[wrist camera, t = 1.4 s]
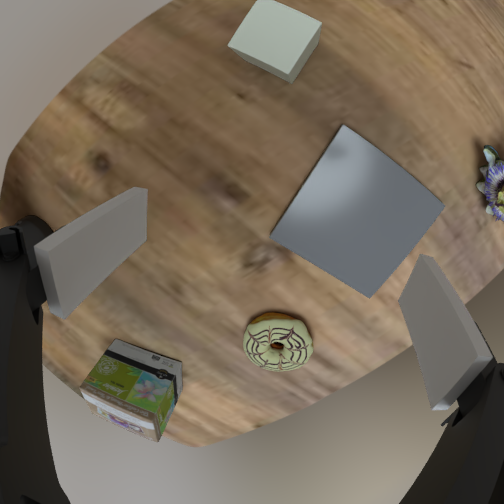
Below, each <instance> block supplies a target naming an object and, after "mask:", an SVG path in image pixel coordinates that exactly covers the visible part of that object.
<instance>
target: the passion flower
mask: <svg viewBox="0 0 504 504" xmlns="http://www.w3.org/2000/svg"><path fill="white" fill-rule="evenodd" d="M483 151H484V154H485V157H486V159H487V161H488V162H489V165H484V166H481V167H480V168H479V170H480V171H481V173H482V174H483V175H484V179H483V180H481V181H479V182H477V184H476V186H477V188H478V189H479V191H481V192H482V193H484V194H485V195H486V198H487V199H486V200H488V201H489V203H488V204H487V206H486V212H487V213H488V214H491V215H493V216H494V215H496V216H497V219H498V220H499V219H501V220H502V221H503V222H504V161H502V160H501V159H500V158H499V156H498V153H497V151H496V150H495V149H494V148H493V147H492V146H490V145H485V146H484V150H483ZM497 219H496V220H497Z"/></svg>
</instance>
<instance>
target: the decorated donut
mask: <svg viewBox="0 0 504 504" xmlns="http://www.w3.org/2000/svg"><path fill="white" fill-rule="evenodd" d="M274 342H281V343H282V344H284V345H282V346H281V345H276V344H274ZM243 347H244V351H245V353H246V355H247V357H248V358H249V359H250V360H251V362H253V363H254V364H256V365H258V366H259V367H261V368H264V369H267V370H271V371H288V370H294V369H298V368H300V367H301V366H303V365H304V364H305V363H306V362H307V361H308V360H309V358H310V356H311V354H312V353H313V342H312V339H311V336H310V334H309V332H308V331H307V328H306V326H305V325H304V323H303V322H302V321H300V320H296V319H295V318H293V317H291V316H288V315H285V314H281V313H274V312H271V313H265V314H263V315H262V316H259V317H257V318H256V319H254V320H253V321H252V322H251V323H250V324H249V325H248V327H247V329H246V331H245V334H244V340H243Z"/></svg>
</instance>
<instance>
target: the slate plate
mask: <svg viewBox="0 0 504 504" xmlns="http://www.w3.org/2000/svg"><path fill="white" fill-rule="evenodd" d="M444 207H445V205H444V204H443V203H442V202H441V201H440V200H438V199H437V198H436V197H435V196H434V195H433V194H432V193H431V192H430V191H429V190H427V189H426V188H425V187H424V186H423V185H422V184H421V183H420V182H418V181H417V180H416V179H415V178H414V177H413V176H411V175H410V174H409V173H408V172H407V171H405V170H404V169H403V168H402V167H400V166H399V165H398V164H397V163H395V162H394V161H393V160H392V159H390V158H389V157H388V156H386V155H385V154H384V153H383V152H381V151H380V150H379V149H377V148H376V147H375V146H373V145H372V144H370V143H369V142H368V141H366V140H365V139H364V138H362V137H361V136H359V135H358V134H356V133H355V132H354V131H352V130H351V129H349V128H348V127H346V126H345V125H343V124H342V125H341V126H340V128H339V129H338V131H337V133H336V134H335V136H334V137H333V139H332V140H331V142H330V143H329V145H328V146H327V148H326V149H325V151H324V153H323V154H322V156H321V157H320V159H319V160H318V162H317V163H316V165H315V166H314V168H313V169H312V171H311V173H310V174H309V176H308V177H307V179H306V180H305V182H304V183H303V185H302V186H301V188H300V189H299V191H298V192H297V194H296V195H295V197H294V199H293V200H292V202H291V203H290V205H289V206H288V208H287V209H286V211H285V212H284V214H283V215H282V217H281V218H280V220H279V221H278V223H277V224H276V226H275V228H274V229H273V231H272V232H271V234H270V237H269V238H271V239H272V240H274V241H276V242H277V243H279V244H281V245H282V246H284V247H286V248H287V249H289V250H291V251H292V252H294V253H296V254H297V255H299V256H301V257H302V258H304V259H306V260H307V261H309V262H311V263H312V264H314V265H316V266H317V267H319V268H321V269H322V270H324V271H326V272H327V273H329V274H331V275H332V276H334V277H336V278H337V279H339V280H340V281H342V282H344V283H345V284H347V285H349V286H350V287H352V288H353V289H355V290H357V291H358V292H360V293H362V294H363V295H365V296H366V297H368V298H371V297H372V295H373V294H374V293H375V292H376V291H377V290H378V289H379V288H380V287H381V286H382V284H383V283H384V282H385V281H386V280H387V279H388V278H389V277H390V275H391V274H392V273H393V272H394V271H395V270H396V268H397V267H398V266H399V265H400V264H401V263H402V261H403V260H404V259H405V258H406V257H407V255H408V254H409V253H410V252H411V250H412V249H413V248H414V247H415V245H416V244H417V243H418V242H419V240H420V239H421V238H422V237H423V235H424V234H425V233H426V231H427V230H428V229H429V228H430V226H431V225H432V224H433V222H434V221H435V220H436V218H437V217H438V216H439V214H440V213H441V211H442V210H443V209H444Z"/></svg>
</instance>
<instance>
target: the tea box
mask: <svg viewBox="0 0 504 504" xmlns="http://www.w3.org/2000/svg"><path fill="white" fill-rule="evenodd" d="M182 387H183V386H182V365H181V362H179V361H175V360H172V359H169V358H166V357H163V356H160V355H158V354H155V353H152V352H149V351H146V350H144V349H141V348H138V347H136V346H133V345H131V344H128V343H126V342H123V341H121V340H119V339H115V340H114V341H113V343H112V344H111V345H110V346H109V348H108V349H107V350H106V351H105V353H104V354H103V356H102V357H101V358H100V360H99V361H98V362H97V364H96V365H95V367H94V368H93V369H92V371H91V372H90V373H89V375H88V376H87V377H86V379H85V380H84V382H83V383H82V384H81V386H80V390H81V392H82V394H83V396H84V398H85V400H86V402H87V404H88V406H89V408H90V410H91V412H92V413H93V414H95V415H97V416H99V417H101V418H103V419H105V420H107V421H109V422H111V423H113V424H115V425H117V426H120V427H122V428H124V429H126V430H128V431H130V432H133V433H135V434H138V435H140V436H142V437H145V438H147V439H150V440H152V441H155V442H159V440H160V437H161V436H162V434H163V431H164V429H165V427H166V425H167V423H168V420H169V418H170V416H171V414H172V412H173V410H174V407H175V405H176V403H177V401H178V399H179V396H180V394H181V392H182V389H183V388H182Z"/></svg>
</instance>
